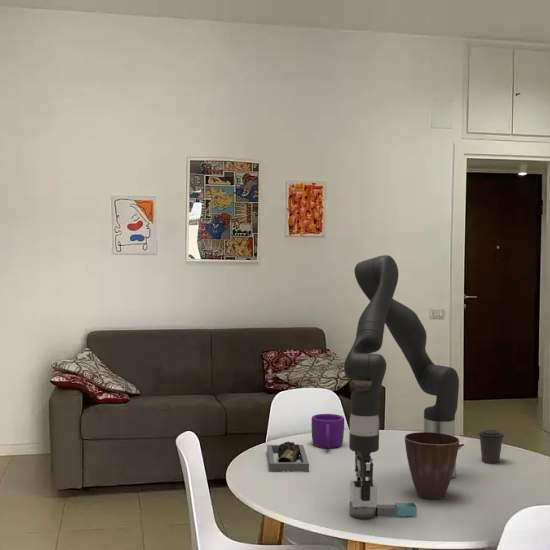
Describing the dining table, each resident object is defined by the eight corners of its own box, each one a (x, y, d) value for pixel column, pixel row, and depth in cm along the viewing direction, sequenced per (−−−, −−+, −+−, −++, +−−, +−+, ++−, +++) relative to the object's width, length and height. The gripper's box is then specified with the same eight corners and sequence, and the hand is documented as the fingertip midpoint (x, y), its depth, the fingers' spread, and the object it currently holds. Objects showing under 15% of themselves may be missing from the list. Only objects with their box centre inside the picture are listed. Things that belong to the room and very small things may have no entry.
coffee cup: (500, 459, 251) (501, 428, 251) (505, 465, 243) (506, 434, 243) (475, 458, 252) (476, 427, 252) (479, 464, 244) (480, 433, 244)
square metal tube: (372, 499, 199) (373, 480, 198) (376, 507, 193) (377, 487, 192) (349, 499, 198) (350, 480, 198) (353, 507, 192) (353, 487, 192)
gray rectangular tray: (302, 452, 257) (303, 444, 256) (308, 471, 234) (308, 463, 233) (267, 452, 256) (267, 444, 256) (269, 471, 233) (269, 463, 233)
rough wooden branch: (292, 471, 235) (292, 453, 235) (271, 470, 236) (271, 452, 236) (301, 456, 252) (302, 439, 252) (281, 455, 253) (281, 438, 253)
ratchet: (412, 510, 200) (412, 479, 199) (418, 519, 193) (418, 488, 192) (347, 510, 199) (347, 479, 199) (351, 519, 192) (351, 488, 192)
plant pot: (400, 486, 220) (401, 431, 220) (452, 487, 220) (453, 432, 219) (407, 503, 205) (408, 444, 205) (463, 504, 205) (464, 445, 204)
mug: (311, 440, 272) (312, 413, 272) (343, 441, 272) (344, 413, 271) (310, 453, 255) (310, 423, 255) (344, 454, 254) (344, 424, 254)
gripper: (384, 438, 188) (382, 505, 188) (374, 425, 202) (373, 487, 203) (353, 438, 188) (352, 505, 188) (345, 425, 202) (344, 487, 202)
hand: (363, 495), depth 195 cm, fingers open, 6 cm apart
